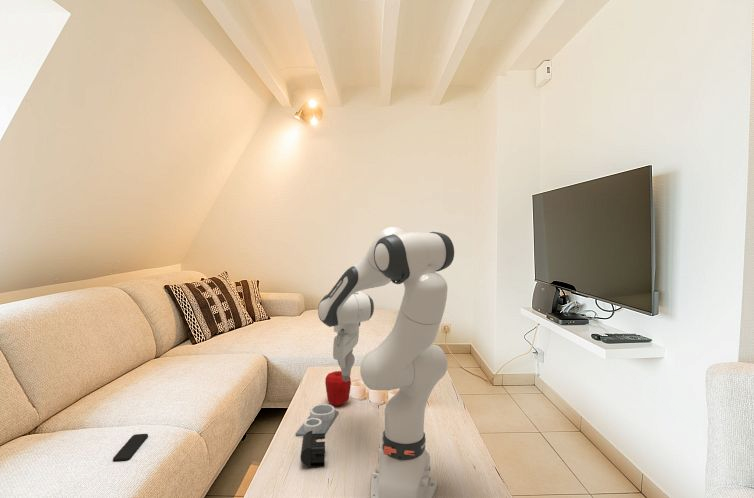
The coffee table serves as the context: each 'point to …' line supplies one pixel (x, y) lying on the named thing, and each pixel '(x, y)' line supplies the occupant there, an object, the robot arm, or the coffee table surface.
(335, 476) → the coffee table surface
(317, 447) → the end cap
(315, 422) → the socket board
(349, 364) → the lightbulb
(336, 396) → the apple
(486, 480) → the coffee table surface
